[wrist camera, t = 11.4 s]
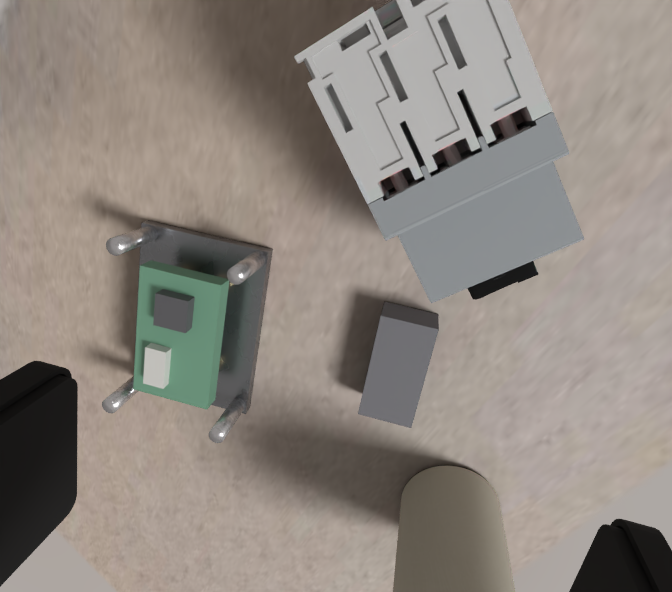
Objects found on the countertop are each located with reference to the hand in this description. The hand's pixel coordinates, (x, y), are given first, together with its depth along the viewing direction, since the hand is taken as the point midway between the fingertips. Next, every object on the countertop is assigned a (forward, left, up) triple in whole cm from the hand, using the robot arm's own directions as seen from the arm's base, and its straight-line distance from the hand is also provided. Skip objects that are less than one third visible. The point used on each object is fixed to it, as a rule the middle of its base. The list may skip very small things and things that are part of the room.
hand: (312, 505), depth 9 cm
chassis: (+11, -14, -28) cm, 33 cm away
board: (+11, -14, -25) cm, 31 cm away
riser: (+10, +2, -28) cm, 30 cm away
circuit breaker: (-5, +2, -28) cm, 29 cm away
